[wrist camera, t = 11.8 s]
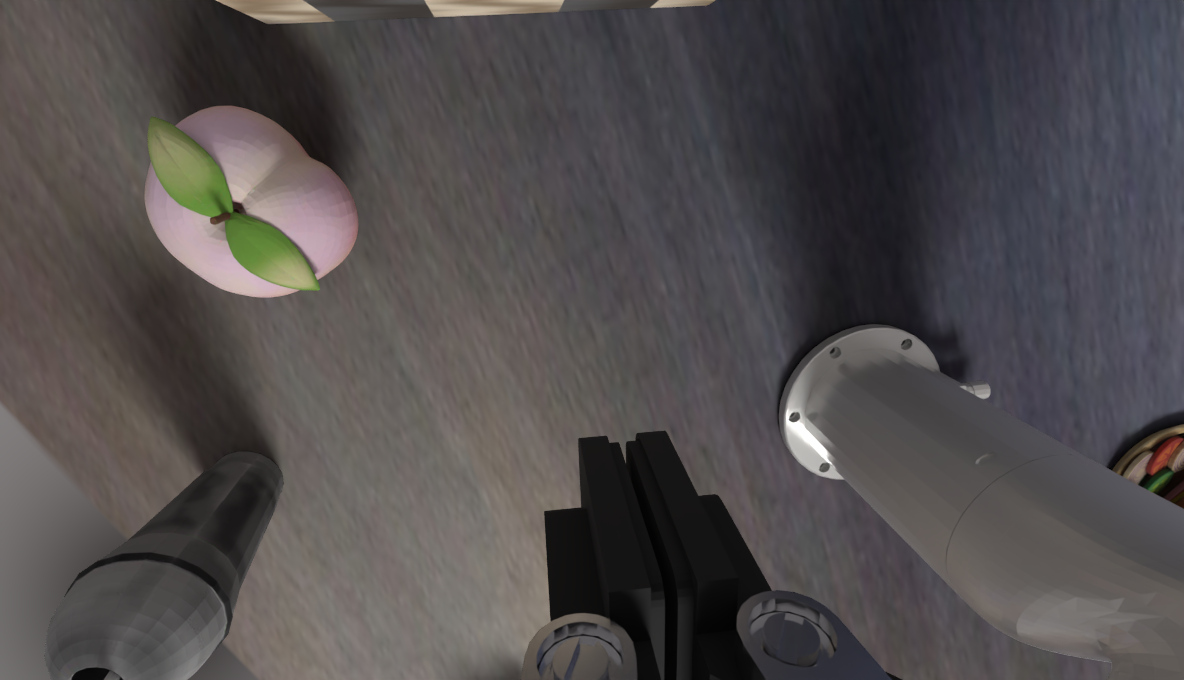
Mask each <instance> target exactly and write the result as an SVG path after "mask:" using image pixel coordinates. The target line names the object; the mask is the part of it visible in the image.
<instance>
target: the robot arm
mask: <svg viewBox="0 0 1184 680" xmlns="http://www.w3.org/2000/svg"><path fill="white" fill-rule="evenodd" d="M989 395H990V387H989V385H988V383H986V382H985V381H982V380H978V381H971V382H965V383H962V384H961V383H959V382H958V381H956V380H954V379H952V378H950V377H949V376H947V375H945V374H943V373H941V372H940V369H939V365H938V363H937V361H936V358H935V356H934V354H933V353H932V352H931V350H930V349H929V348H928V346H927V345H926V344H925V343H924V342H922V341H921V340H920V339H918V338H917V337H916V336H914V335H912V334H910V333H908V332H906V331H904V330H902V329H899V328H896V327H893V326H889V325H880V324H869V325H861V326H856V327H853V328H849V329H846V330H843V331H841V332H839V333H837V334H835V335H833V336H831V337H829V338H827V339H826V340H824V341H823V342H821V343H820V344H819V345H817V346H816V347H815V348H813V349H812V350H811V351H810V352H809V353H808V354H807V355H806V356H805V357H804V358H803V359H802V360H801V362H800V363H799V364H798V366H797V367H796V368H795V370H794V371H793V373H792V374H791V376H790V378H789V380H788V382H787V384H786V386H785V388H784V392H783V395H782V398H781V401H780V409H779V425H780V432H781V435H782V438H783V441H784V443H785V445H786V446H787V448H788V450H789V451H790V453H791V454H792V455H793V456H794V457H795V458H796V459H797V461H798V462H799V463H800V464H801V465H803V466H804V467H805V468H807V469H808V470H809V471H811V472H813V473H815V474H817V475H819V476H822V477H827V478H831V479H844V480H846V481H847V482H848V483H849V484H850V485H851V486H852V487H853V488H854V489H855V491H856V492H857V493H858V494H859V495H860V496H861V497H862V498H863V499H864V500H865V501H866V502H867V503H868V504H869V505H870V506H871V507H872V508H873V509H874V510H875V511H876V512H877V513H878V514H879V515H880V516H881V517H882V518H883V519H884V520H885V521H886V522H887V523H888V524H889V525H890V526H891V527H892V528H893V529H894V530H895V531H896V532H897V533H898V534H899V535H900V536H901V537H902V538H903V539H904V540H905V541H906V542H907V543H908V544H909V545H910V546H911V547H912V548H913V549H914V550H915V551H916V552H917V553H918V554H919V555H920V556H921V557H922V558H923V559H924V560H925V562H926V563H927V564H928V565H929V566H930V567H931V568H932V569H933V570H934V571H935V572H936V573H937V574H938V575H939V576H940V577H941V578H942V579H943V580H944V581H945V582H946V583H947V584H948V585H949V586H950V587H951V588H952V589H953V590H954V591H955V592H956V593H957V594H958V595H959V596H960V597H961V598H962V599H963V600H964V601H965V602H966V603H967V604H968V605H969V606H970V607H971V608H972V609H973V610H974V611H975V612H976V613H978V614H979V615H980V616H981V617H982V618H983V619H984V620H986V621H987V622H988V623H989V624H991V625H992V626H994V627H995V628H997V629H998V630H1000V631H1001V632H1003V633H1005V634H1007V635H1009V636H1011V637H1012V638H1014V639H1016V640H1018V641H1021V642H1023V643H1026V644H1029V645H1032V646H1035V647H1038V648H1040V649H1044V650H1048V651H1052V652H1056V653H1060V654H1065V655H1070V656H1075V657H1081V658H1087V659H1093V660H1100V661H1106V662H1112V665H1111V671H1110V673H1109V676H1108V678H1107V679H1106V680H1184V509H1183V508H1181V507H1179V506H1177V505H1175V504H1174V503H1172V502H1170V501H1168V500H1166V499H1164V498H1162V497H1160V496H1158V495H1156V494H1154V493H1152V492H1150V491H1148V490H1147V489H1145V488H1143V487H1141V486H1139V485H1137V484H1135V483H1133V482H1132V481H1130V480H1128V479H1126V478H1124V477H1123V476H1121V475H1119V474H1117V473H1115V472H1113V471H1112V470H1110V469H1108V468H1106V467H1104V466H1103V465H1101V464H1099V463H1097V462H1095V461H1093V460H1091V459H1089V458H1087V457H1085V456H1083V455H1082V454H1080V453H1078V452H1076V451H1074V450H1073V449H1071V448H1069V447H1067V446H1065V445H1064V444H1062V443H1060V442H1058V441H1056V440H1055V439H1053V438H1051V437H1049V436H1048V435H1046V434H1044V433H1042V432H1040V431H1039V430H1037V429H1035V428H1033V427H1031V426H1030V425H1028V424H1026V423H1024V422H1022V421H1021V420H1019V419H1017V418H1015V417H1013V416H1012V415H1010V414H1008V413H1006V412H1004V411H1003V410H1001V409H999V408H997V407H995V406H994V405H992V404H990V403H988V402H986V401H985V400H983V399H986V398H988V397H989ZM578 448H579V469H580V490H581V508H571V509H561V510H551V511H544V515H545V533H546V550H547V567H548V584H549V601H550V618H551V622H550V623H548V624H547V625H545V626H544V627H543V628H541V629H540V630H539V631H538V632H537V633H536V635H535V636H534V637H533V639H532V640H531V641H530V643H529V646H528V649H527V651H526V654H525V658H524V663H523V669H522V675H521V680H902V679H900V678H898V677H896V676H893V675H891V674H889V673H887V672H885V671H884V670H883V669H882V668H881V666H880V665H879V664H878V663H877V662H876V661H875V660H874V658H873V657H872V656H871V655H870V654H869V653H868V651H867V650H866V649H865V648H864V647H863V646H862V645H861V643H860V642H859V641H858V640H857V639H856V638H855V636H854V635H853V634H852V633H851V632H850V631H849V630H848V628H847V627H846V626H845V625H844V624H843V623H842V622H841V620H840V619H839V618H838V617H837V616H836V615H835V614H834V613H832V612H831V611H830V610H829V609H828V608H827V607H826V606H824V605H822V604H821V603H819V602H817V601H815V600H814V599H812V598H810V597H807V596H804V595H801V594H798V593H795V592H788V591H780V590H776V591H772V590H771V588H770V586H769V585H768V583H767V581H766V579H765V577H764V576H763V574H762V572H761V570H760V568H759V567H758V565H757V563H756V561H755V559H754V558H753V556H752V554H751V552H750V550H749V549H748V547H747V545H746V543H745V541H744V540H743V538H742V536H741V534H740V532H739V531H738V529H737V527H736V525H735V524H734V522H733V520H732V518H731V516H730V515H729V513H728V511H727V509H726V507H725V506H724V504H723V502H722V500H721V499H720V498H719V496H718V495H715V494H713V495H703V496H698V494H697V492H696V490H695V488H694V486H693V484H692V482H691V480H690V478H689V476H688V474H687V472H686V470H685V468H684V466H683V464H682V462H681V460H680V458H679V456H678V454H677V452H676V450H675V448H674V446H673V444H672V442H671V440H670V438H669V436H668V434H667V432H666V431H656V432H644V433H637V434H636V441H627V443H626V463H625V460H624V457H623V454H622V451H621V448H620V444H619V442H616V443H609V440H608V437H607V436H598V437H587V438H579V439H578Z"/></svg>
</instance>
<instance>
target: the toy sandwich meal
mask: <svg viewBox="0 0 1184 680" xmlns="http://www.w3.org/2000/svg"><path fill="white" fill-rule="evenodd" d="M1112 471H1113V472H1115V473H1117V474H1119V475H1121V476H1123V477H1124V478H1126V479H1128V480H1130V481H1132V482H1133V483H1135V484H1137V485H1139V486H1141V487H1143V488H1145V489H1147V490H1148V491H1150V492H1152V493H1154V494H1156V495H1158V496H1160V497H1162V498H1164V499H1166V500H1168V501H1170V502H1172V503H1174V504H1175V505H1177V506H1179V507H1181V508H1183V509H1184V424H1182V425H1178V426H1174V427H1170V428H1167V429H1163V430H1161V431H1158V432H1156V433H1154V434H1152V435H1150V436H1148V437H1146V438H1145V439H1143V440H1142V441H1140V442H1139V443H1137V444H1136V445H1135V446H1134V447H1132V448H1131V449H1130V450H1129V451H1128V452H1127V453H1126V454H1125V455H1124V456H1123V457H1122V458H1121V459H1120V460H1119V462H1118V463H1117V464H1116V465H1115V467H1114V468H1113V470H1112Z"/></svg>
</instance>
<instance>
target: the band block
mask: <svg viewBox="0 0 1184 680" xmlns="http://www.w3.org/2000/svg"><path fill="white" fill-rule="evenodd" d="M216 1H218V2H220V3H223V4H225V5H227V6H229V7H231V8H233V9H236V10H238V11H240V12H242V13H244V14H247V15H249V16H251V17H253V18H255V19H257V20H260V21H262V22H264V23H266V24H285V23H308V22H332V21H355V20H378V19H402V18H425V17H449V16H472V15H496V14H519V13H542V12H566V11H589V10H613V9H636V8H660V7H683V6H706V5H709V4H710V3H712V2H714V1H715V0H216Z"/></svg>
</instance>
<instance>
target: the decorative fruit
mask: <svg viewBox="0 0 1184 680" xmlns="http://www.w3.org/2000/svg"><path fill="white" fill-rule="evenodd" d="M148 149H149V155H150V159H151V164H150V167H149V171H148V175H147V179H146V184H145V205H146V211H147V214H148V217H149V220H150V222H151V225H152V227H153V229H154V231H155V233H156V234H157V236H158V238H159V239H160V241H161V242H162V243H163V245H164V246H165V247H166V248H167V250H168V251H169V252H170V253H171V254H172V255H173V256H174V257H175V258H176V259H178V260H179V261H180V262H181V263H183V264H184V265H185V266H186V267H188V268H189V269H190V270H192V271H193V272H195V273H196V274H198V275H199V276H200V277H202V278H203V279H205V280H206V281H208V282H210V283H211V284H213V285H215V286H217V287H219V288H221V289H223V290H226V291H229V292H233V293H237V294H241V295H247V296H252V297H277V296H283V295H287V294H290V293H293V292H297V291H299V290H315V291H317V290H319V289H320V287H319V283H318V281H317V280H318V279H320V278H321V277H323V276H324V275H326V274H327V273H329V272H330V271H331V270H333V269H334V268H335V267H337V266H338V265H339V264H340V263H341V262H342V261H343V260H344V259H345V258H346V257H347V255H348V254H349V253H350V251H351V249H352V248H353V246H354V243H355V240H356V238H357V233H358V214H357V209H356V206H355V203H354V200H353V198H352V196H351V194H350V192H349V190H348V188H347V187H346V185H345V184H344V182H343V181H342V180H341V179H340V177H339V176H338V175H337V174H336V173H335V172H334V171H333V170H332V169H331V168H329V167H328V166H326V165H325V164H323V163H321V162H319V161H316V160H314V159H312V158H311V157H309V155H308V154H307V153H306V151H305V150H304V149H303V147H302V146H301V144H300V143H299V142H298V141H297V140H296V139H295V138H294V137H293V136H292V135H291V134H290V133H289V132H287V131H286V130H285V129H284V128H282V127H281V126H280V125H279V124H277V123H276V122H274V121H272V120H271V119H269V118H267V117H265V116H263V115H261V114H259V113H257V112H254V111H251V110H249V109H246V108H241V107H236V106H214V107H210V108H206V109H203V110H200V111H198V112H196V113H194V114H192V115H190V116H188V117H186V118H185V119H183V120H182V121H181V122H179V123H178V124H177V125H175V126H174V125H172V124H170V123H168V122H166V121H164V120H161V119H159V118H156V117H151V118H150V124H149V128H148Z"/></svg>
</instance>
